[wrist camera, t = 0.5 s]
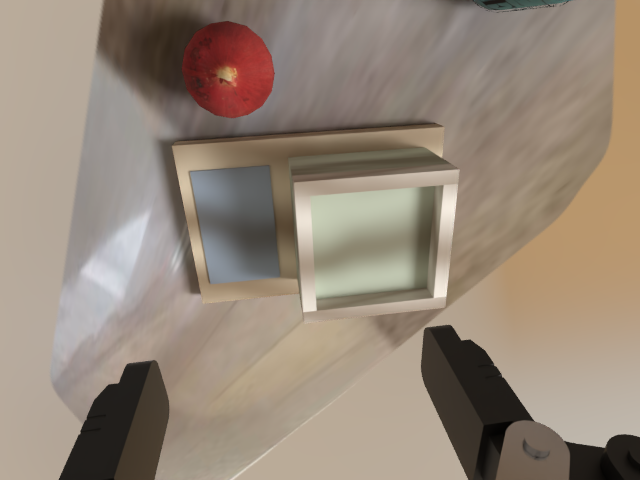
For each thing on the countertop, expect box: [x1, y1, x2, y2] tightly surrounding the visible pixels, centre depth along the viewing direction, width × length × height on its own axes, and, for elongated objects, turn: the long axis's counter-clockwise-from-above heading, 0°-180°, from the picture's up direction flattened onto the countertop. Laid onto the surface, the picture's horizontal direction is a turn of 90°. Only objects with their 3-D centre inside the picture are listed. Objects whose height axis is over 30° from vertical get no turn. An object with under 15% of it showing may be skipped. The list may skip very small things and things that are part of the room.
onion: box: [182, 21, 275, 118], centre depth 27 cm, size 6×6×8 cm
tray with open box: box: [172, 124, 460, 323], centre depth 33 cm, size 14×21×8 cm, turn 92°
